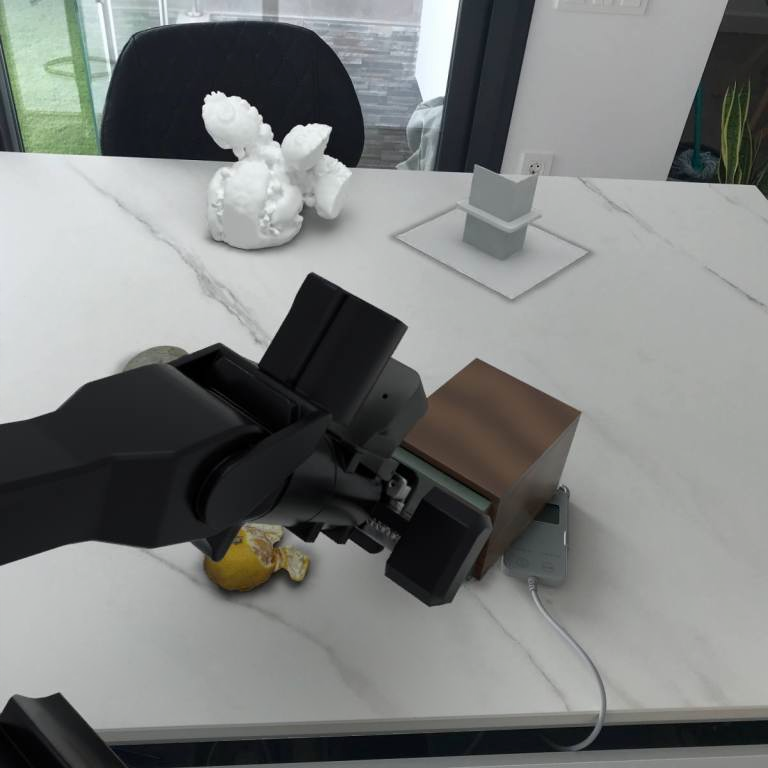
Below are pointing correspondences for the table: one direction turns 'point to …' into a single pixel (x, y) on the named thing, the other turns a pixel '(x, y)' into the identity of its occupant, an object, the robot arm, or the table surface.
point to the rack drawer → (438, 485)
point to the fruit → (255, 559)
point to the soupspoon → (155, 356)
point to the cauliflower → (268, 176)
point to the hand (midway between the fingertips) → (394, 496)
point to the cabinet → (497, 446)
